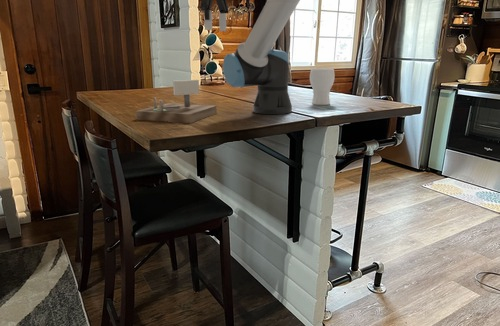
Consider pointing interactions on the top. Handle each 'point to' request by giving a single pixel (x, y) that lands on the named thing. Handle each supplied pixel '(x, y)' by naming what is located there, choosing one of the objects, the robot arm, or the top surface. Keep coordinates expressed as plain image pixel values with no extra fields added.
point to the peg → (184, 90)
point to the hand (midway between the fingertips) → (216, 30)
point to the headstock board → (176, 112)
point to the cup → (321, 84)
